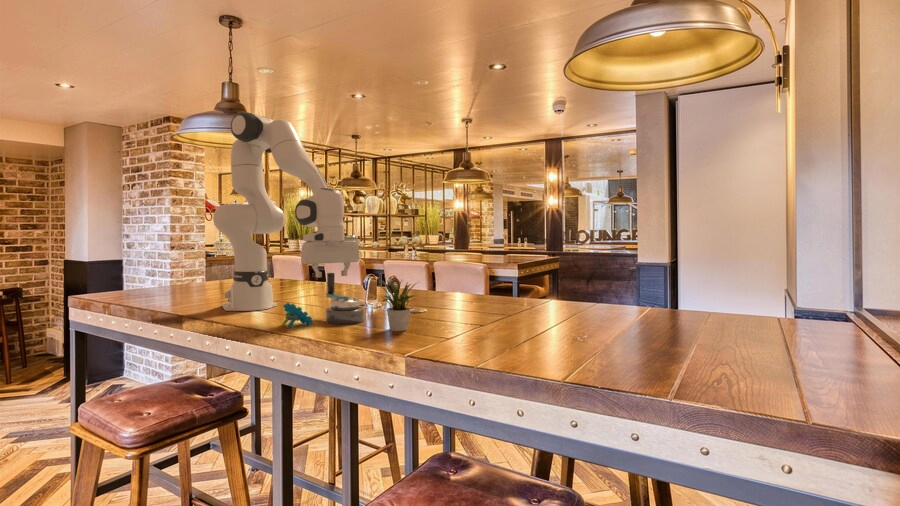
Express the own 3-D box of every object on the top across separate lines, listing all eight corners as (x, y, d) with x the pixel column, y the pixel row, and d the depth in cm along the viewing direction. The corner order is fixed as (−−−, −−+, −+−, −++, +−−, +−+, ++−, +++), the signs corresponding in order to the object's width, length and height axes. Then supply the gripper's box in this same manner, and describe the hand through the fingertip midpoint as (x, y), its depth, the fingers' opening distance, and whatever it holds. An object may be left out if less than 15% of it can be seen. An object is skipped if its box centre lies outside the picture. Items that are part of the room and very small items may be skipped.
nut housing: (319, 320, 159) (319, 307, 159) (352, 316, 167) (352, 303, 167) (336, 326, 150) (336, 312, 150) (370, 321, 158) (370, 308, 158)
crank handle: (364, 308, 158) (364, 275, 157) (339, 311, 152) (338, 277, 152) (341, 302, 170) (341, 272, 169) (317, 305, 164) (316, 273, 164)
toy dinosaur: (319, 321, 150) (296, 300, 145) (308, 337, 146) (284, 316, 142) (301, 321, 157) (279, 301, 153) (290, 336, 154) (267, 316, 149)
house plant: (360, 331, 142) (360, 276, 141) (384, 323, 155) (384, 272, 154) (404, 336, 137) (404, 278, 136) (425, 327, 150) (425, 274, 149)
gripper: (353, 235, 174) (354, 274, 175) (298, 236, 161) (299, 277, 161) (362, 235, 169) (363, 275, 170) (306, 235, 156) (307, 278, 157)
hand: (331, 276), depth 165 cm, fingers open, 8 cm apart
